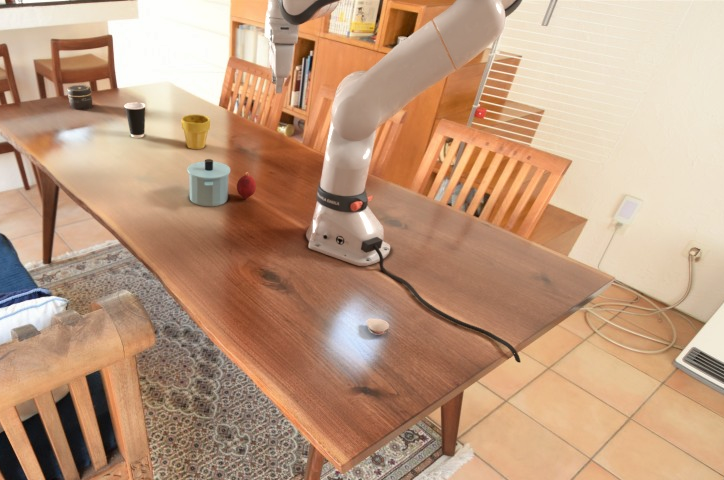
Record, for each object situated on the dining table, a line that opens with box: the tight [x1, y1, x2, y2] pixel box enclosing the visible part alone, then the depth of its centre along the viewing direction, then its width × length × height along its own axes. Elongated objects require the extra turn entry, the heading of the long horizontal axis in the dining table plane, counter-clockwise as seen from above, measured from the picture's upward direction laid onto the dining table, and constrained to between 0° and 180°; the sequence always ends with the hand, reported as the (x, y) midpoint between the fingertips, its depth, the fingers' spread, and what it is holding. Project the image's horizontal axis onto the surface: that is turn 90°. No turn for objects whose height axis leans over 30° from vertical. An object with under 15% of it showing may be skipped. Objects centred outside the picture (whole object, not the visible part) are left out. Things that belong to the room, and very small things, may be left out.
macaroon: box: [366, 318, 390, 336], centre depth 102 cm, size 4×5×2 cm
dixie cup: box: [123, 101, 147, 139], centre depth 185 cm, size 8×8×11 cm
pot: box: [188, 173, 230, 207], centre depth 146 cm, size 12×17×8 cm
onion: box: [236, 171, 257, 200], centre depth 146 cm, size 6×6×8 cm
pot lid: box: [186, 158, 231, 179], centre depth 142 cm, size 13×13×4 cm
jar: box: [66, 84, 93, 111], centre depth 213 cm, size 10×10×8 cm
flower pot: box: [181, 114, 211, 150], centre depth 178 cm, size 10×10×10 cm
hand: (276, 88), depth 136 cm, fingers open, 8 cm apart
